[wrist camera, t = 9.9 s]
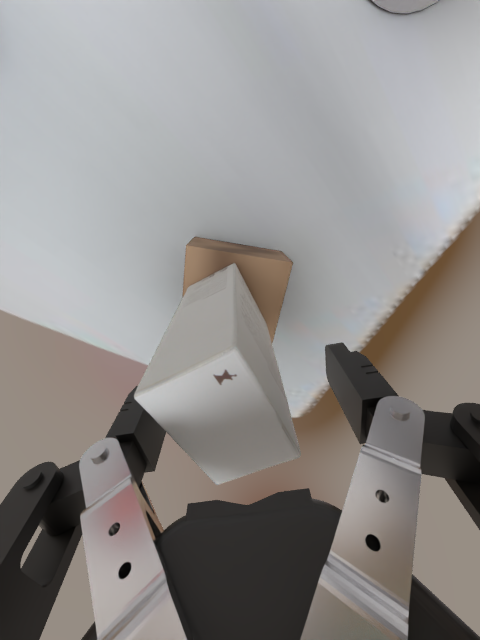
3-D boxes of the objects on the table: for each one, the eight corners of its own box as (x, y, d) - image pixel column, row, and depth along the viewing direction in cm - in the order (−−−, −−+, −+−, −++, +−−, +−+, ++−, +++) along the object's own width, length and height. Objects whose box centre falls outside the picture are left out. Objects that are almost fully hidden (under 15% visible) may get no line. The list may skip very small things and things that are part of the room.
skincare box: (186, 286, 19) (125, 394, 8) (235, 261, 18) (238, 342, 7) (223, 345, 21) (214, 490, 11) (268, 325, 21) (307, 458, 10)
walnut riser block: (280, 250, 23) (292, 262, 19) (263, 325, 26) (270, 351, 22) (195, 236, 22) (186, 245, 18) (188, 315, 26) (179, 340, 21)
